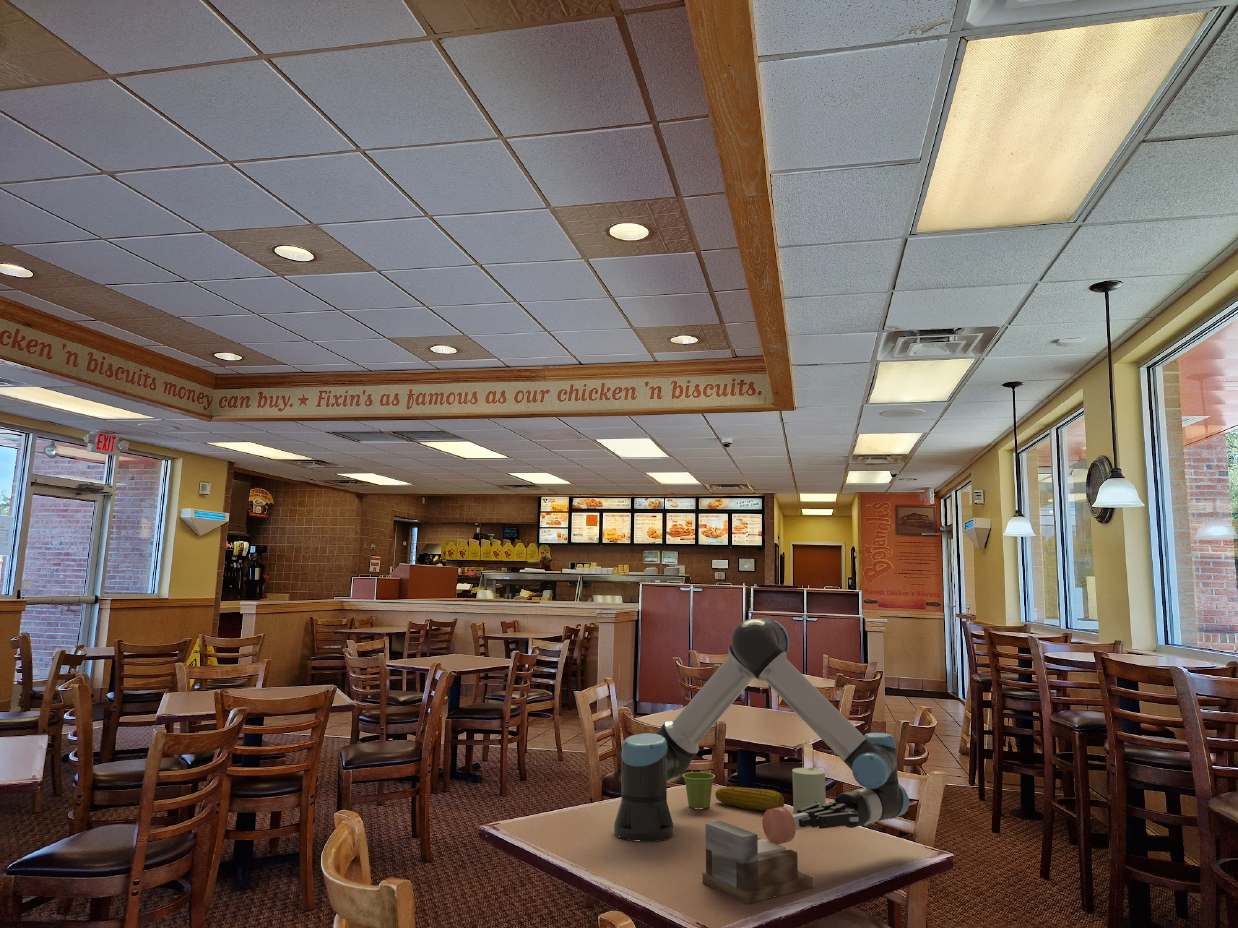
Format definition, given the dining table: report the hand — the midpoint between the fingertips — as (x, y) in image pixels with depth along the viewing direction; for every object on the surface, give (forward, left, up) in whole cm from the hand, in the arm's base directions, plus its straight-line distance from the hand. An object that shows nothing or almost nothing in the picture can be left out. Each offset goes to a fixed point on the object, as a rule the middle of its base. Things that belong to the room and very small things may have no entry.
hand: (785, 824), depth 170 cm
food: (+4, +58, -11) cm, 59 cm away
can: (+20, +51, -11) cm, 56 cm away
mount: (-7, -4, -11) cm, 14 cm away
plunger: (-6, -3, -9) cm, 11 cm away
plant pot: (-10, +59, -11) cm, 61 cm away
